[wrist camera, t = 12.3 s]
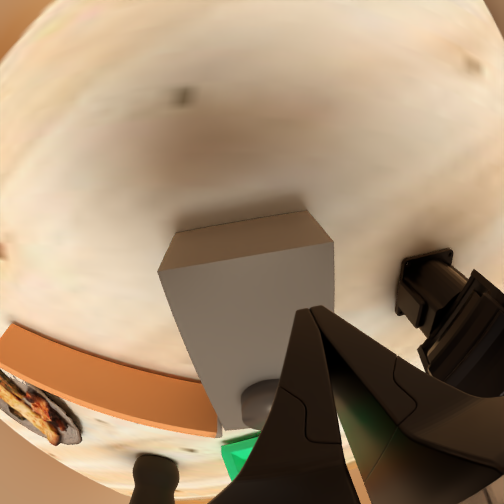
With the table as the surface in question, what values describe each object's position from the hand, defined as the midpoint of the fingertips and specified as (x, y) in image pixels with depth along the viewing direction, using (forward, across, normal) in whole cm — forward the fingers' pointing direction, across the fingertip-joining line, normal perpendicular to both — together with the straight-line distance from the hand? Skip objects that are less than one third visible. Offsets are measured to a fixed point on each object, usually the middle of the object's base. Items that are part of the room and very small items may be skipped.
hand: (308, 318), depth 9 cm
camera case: (+13, +2, +10) cm, 16 cm away
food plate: (+13, +45, +23) cm, 53 cm away
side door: (+12, +20, +14) cm, 27 cm away
